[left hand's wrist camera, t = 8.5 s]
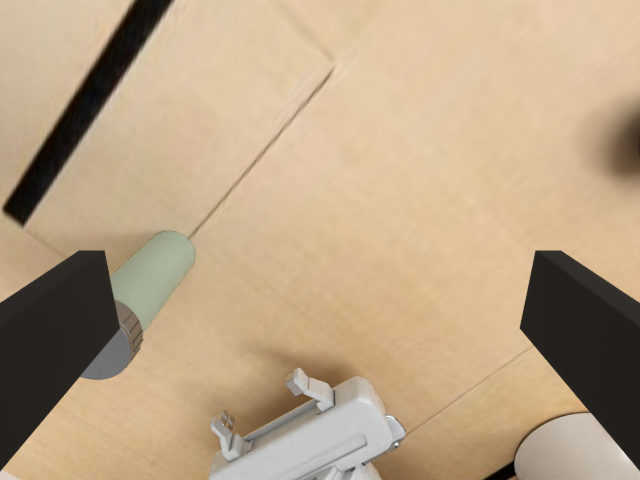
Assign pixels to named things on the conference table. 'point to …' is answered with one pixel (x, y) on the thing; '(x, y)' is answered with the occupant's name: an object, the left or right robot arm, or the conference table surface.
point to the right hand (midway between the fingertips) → (253, 396)
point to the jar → (153, 274)
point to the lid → (117, 346)
